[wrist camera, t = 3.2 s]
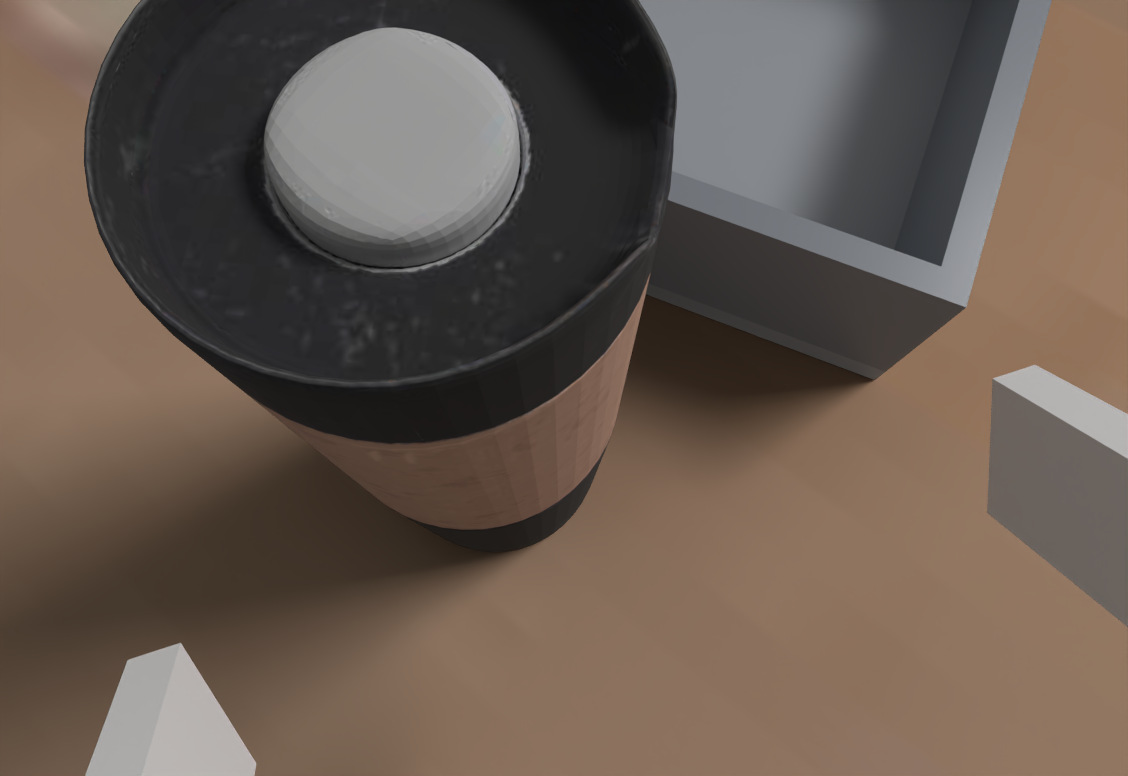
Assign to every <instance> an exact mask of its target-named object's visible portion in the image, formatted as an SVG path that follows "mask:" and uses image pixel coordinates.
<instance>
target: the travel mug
mask: <svg viewBox="0 0 1128 776" xmlns="http://www.w3.org/2000/svg"><path fill="white" fill-rule="evenodd" d="M676 110H677V86H676V78H675V75H674V71H673V67H672V63H671V60H670V57H669V55H668V52H667V50H666V47H665V45H664V43H663V41H662V39H661V37H660V35H659V33H658V32H657V30H656V28H655V26H654V24H653V22H652V21H651V19H650V18H649V16H648V14H647V13H646V11H645V10H644V8H643V6H642V5H641V3H640V2H639V0H141V1H140V2H139V3H138V4H137V5H136V7H135V8H134V10H133V11H132V13H131V14H130V15H129V17H128V18H127V20H126V21H125V23H124V24H123V26H122V27H121V29H120V30H119V32H118V33H117V35H116V37H115V39H114V41H113V43H112V45H111V47H110V49H109V51H108V53H107V55H106V57H105V59H104V61H103V63H102V65H101V68H100V71H99V74H98V77H97V80H96V83H95V86H94V89H93V92H92V95H91V98H90V104H89V109H88V115H87V120H86V126H85V143H84V167H85V174H86V181H87V189H88V196H89V201H90V204H91V208H92V211H93V214H94V218H95V221H96V224H97V228H98V231H99V234H100V236H101V238H102V240H103V242H104V244H105V246H106V248H107V251H108V253H109V255H110V257H111V259H112V261H113V263H114V265H115V266H116V268H117V269H118V271H119V272H120V274H121V275H122V276H123V278H124V279H125V281H126V282H127V283H128V285H129V286H130V288H131V289H132V291H133V292H134V293H135V295H136V296H137V298H138V299H139V300H140V302H141V303H142V304H143V305H144V306H145V307H146V308H147V309H148V310H149V311H150V312H151V313H152V314H153V315H154V316H155V317H156V318H157V319H158V320H159V321H160V322H161V323H162V324H163V325H164V326H165V327H166V328H167V329H168V330H169V331H170V332H171V333H172V334H173V335H174V336H175V337H176V338H177V339H179V340H180V341H181V342H182V343H184V344H185V345H186V346H187V347H189V348H190V349H191V350H192V351H194V352H195V353H196V354H197V355H199V356H200V357H201V358H202V359H204V360H205V361H206V362H207V363H209V364H210V365H211V366H212V367H214V368H215V369H216V370H217V371H219V372H220V373H221V374H222V375H224V376H225V377H226V378H227V379H229V380H230V381H231V382H232V383H234V384H235V385H236V386H238V387H239V388H240V389H241V390H242V391H244V392H245V393H246V394H247V395H249V396H250V397H251V398H252V399H254V400H255V401H256V402H257V403H259V404H260V405H261V406H262V407H264V408H265V409H266V410H267V411H269V412H270V413H271V414H272V415H274V416H275V417H276V418H277V419H279V420H280V421H281V422H282V423H284V424H285V425H286V426H287V427H289V428H290V429H291V430H292V431H294V432H295V433H296V434H297V435H299V436H300V437H301V438H302V439H304V440H305V441H306V442H307V443H309V444H310V445H311V446H312V447H314V448H315V449H316V450H317V451H319V452H320V453H321V454H322V455H324V456H325V457H326V458H327V459H328V460H330V461H331V462H332V463H333V464H335V465H336V466H337V467H338V468H340V469H341V470H342V471H343V472H345V473H346V474H347V475H348V476H350V477H351V478H352V479H353V480H355V481H356V482H357V483H358V484H360V485H361V486H362V487H363V488H365V489H366V490H367V491H368V492H370V493H371V494H372V495H374V496H375V497H376V498H377V499H379V500H380V501H381V502H383V503H384V504H385V505H387V506H388V507H390V508H391V509H393V510H395V511H397V512H398V513H400V514H402V515H404V516H406V517H407V518H409V519H411V520H413V521H414V522H416V523H418V524H420V525H421V526H423V527H425V528H427V529H429V530H430V531H432V532H434V533H436V534H437V535H439V536H441V537H443V538H444V539H446V540H448V541H451V542H453V543H455V544H458V545H460V546H463V547H467V548H471V549H475V550H481V551H490V552H497V551H510V550H516V549H520V548H523V547H527V546H530V545H532V544H535V543H537V542H539V541H541V540H543V539H545V538H546V537H548V536H550V535H551V534H553V533H554V532H555V531H557V530H558V529H559V528H560V527H562V526H563V525H564V524H565V523H566V522H567V521H568V520H569V519H570V518H571V517H572V515H573V514H574V513H575V512H576V510H577V509H578V508H579V506H580V505H581V503H582V501H583V500H584V498H585V496H586V494H587V492H588V490H589V488H590V486H591V484H592V481H593V479H594V476H595V474H596V471H597V469H598V467H599V464H600V462H601V459H602V457H603V454H604V452H605V449H606V447H607V445H608V442H609V439H610V437H611V434H612V431H613V429H614V426H615V422H616V418H617V414H618V410H619V405H620V401H621V397H622V393H623V388H624V384H625V380H626V375H627V371H628V367H629V363H630V358H631V354H632V350H633V346H634V341H635V337H636V333H637V329H638V324H639V320H640V316H641V312H642V307H643V303H644V299H645V295H646V290H647V286H648V282H649V277H650V273H651V269H652V265H653V261H654V256H655V252H656V248H657V244H658V239H659V235H660V231H661V226H662V222H663V218H664V214H665V209H666V205H667V200H668V196H669V192H670V187H671V175H672V163H673V152H674V131H675V121H676Z"/></svg>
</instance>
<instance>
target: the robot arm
mask: <svg viewBox="0 0 1128 776" xmlns="http://www.w3.org/2000/svg"><path fill="white" fill-rule="evenodd" d="M987 513H988V514H989V515H991V516H992V517H993V518H994V519H996V520H997V521H998V522H999V523H1000V524H1002V525H1003V526H1004V527H1005V528H1007V529H1008V530H1009V531H1010V532H1012V533H1013V534H1014V535H1015V536H1016V537H1018V538H1019V539H1020V540H1021V541H1023V542H1024V543H1025V544H1026V545H1028V546H1029V547H1030V548H1031V549H1032V550H1034V551H1035V552H1036V553H1037V554H1039V555H1040V556H1041V557H1042V558H1043V559H1045V560H1046V561H1047V562H1048V563H1050V564H1051V565H1052V566H1053V567H1055V568H1056V569H1057V570H1058V571H1059V572H1061V573H1062V574H1063V575H1064V576H1066V577H1067V578H1068V579H1069V580H1071V581H1072V582H1073V583H1074V584H1075V585H1077V586H1078V587H1079V588H1080V589H1082V590H1083V591H1084V592H1085V593H1086V594H1088V595H1089V596H1090V597H1091V598H1093V599H1094V600H1095V601H1096V602H1098V603H1099V604H1100V605H1101V606H1102V607H1104V608H1105V609H1106V610H1107V611H1109V612H1110V613H1111V614H1112V615H1114V616H1115V617H1116V618H1117V619H1118V620H1120V621H1121V622H1122V623H1123V624H1125V625H1126V626H1127V627H1128V414H1126V413H1124V412H1122V411H1121V410H1119V409H1117V408H1115V407H1113V406H1111V405H1109V404H1107V403H1106V402H1104V401H1102V400H1100V399H1098V398H1096V397H1094V396H1092V395H1091V394H1089V393H1087V392H1085V391H1083V390H1081V389H1079V388H1078V387H1076V386H1074V385H1072V384H1070V383H1068V382H1066V381H1064V380H1063V379H1061V378H1059V377H1057V376H1055V375H1053V374H1051V373H1049V372H1048V371H1046V370H1044V369H1042V368H1040V367H1038V366H1036V365H1033V366H1030V367H1027V368H1024V369H1021V370H1018V371H1015V372H1012V373H1009V374H1005V375H1002V376H999V377H996V378H993V383H992V408H991V433H990V458H989V483H988V508H987ZM255 769H256V762H255V761H254V759H253V757H252V756H251V754H250V753H249V751H248V749H247V748H246V746H245V745H244V743H243V741H242V740H241V738H240V737H239V735H238V733H237V732H236V730H235V729H234V727H233V725H232V724H231V722H230V721H229V719H228V717H227V716H226V714H225V713H224V711H223V709H222V708H221V706H220V705H219V703H218V701H217V700H216V698H215V697H214V695H213V694H212V692H211V690H210V689H209V687H208V686H207V684H206V682H205V681H204V679H203V678H202V676H201V674H200V673H199V671H198V670H197V668H196V666H195V665H194V663H193V662H192V660H191V658H190V657H189V655H188V654H187V652H186V650H185V649H184V647H183V646H182V644H181V643H178V644H175V645H172V646H169V647H166V648H163V649H160V650H157V651H154V652H150V653H147V654H144V655H141V656H138V657H135V658H132V659H129V660H128V661H127V663H126V666H125V669H124V671H123V674H122V677H121V680H120V682H119V685H118V688H117V691H116V693H115V696H114V699H113V701H112V704H111V707H110V710H109V712H108V715H107V718H106V721H105V723H104V726H103V729H102V731H101V734H100V737H99V740H98V742H97V745H96V748H95V750H94V753H93V756H92V759H91V761H90V764H89V767H88V770H87V772H86V775H85V776H255Z"/></svg>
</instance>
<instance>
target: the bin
mask: <svg viewBox="0 0 1128 776" xmlns="http://www.w3.org/2000/svg"><path fill="white" fill-rule="evenodd" d="M1051 1H1052V0H639V2H640V3H641V5H642V6H643V8H644V10H645V11H646V13H647V14H648V16H649V18H650V19H651V21H652V22H653V24H654V26H655V28H656V30H657V32H658V33H659V35H660V37H661V39H662V41H663V43H664V45H665V47H666V50H667V52H668V55H669V57H670V60H671V63H672V67H673V71H674V75H675V78H676V86H677V110H676V121H675V131H674V152H673V163H672V175H671V187H670V192H669V196H668V200H667V205H666V209H665V214H664V218H663V222H662V226H661V231H660V235H659V239H658V244H657V248H656V252H655V256H654V261H653V265H652V269H651V273H650V277H649V282H648V286H647V290H646V295H649V296H652V297H654V298H657V299H660V300H662V301H665V302H668V303H670V304H673V305H676V306H678V307H681V308H684V309H686V310H689V311H692V312H694V313H697V314H700V315H702V316H705V317H708V318H710V319H713V320H716V321H718V322H721V323H724V324H726V325H729V326H732V327H734V328H737V329H740V330H742V331H745V332H748V333H750V334H753V335H756V336H758V337H761V338H764V339H766V340H769V341H772V342H774V343H777V344H780V345H782V346H785V347H788V348H790V349H793V350H796V351H798V352H801V353H804V354H806V355H809V356H812V357H814V358H817V359H820V360H822V361H825V362H828V363H830V364H833V365H836V366H838V367H841V368H844V369H846V370H849V371H852V372H854V373H857V374H860V375H862V376H865V377H868V378H870V379H873V380H876V379H877V378H878V377H879V376H881V375H882V374H883V373H884V372H886V371H887V370H888V369H889V368H891V367H892V366H893V365H894V364H896V363H897V362H898V361H899V360H901V359H902V358H903V357H905V356H906V355H907V354H908V353H910V352H911V351H912V350H913V349H915V348H916V347H917V346H918V345H920V344H921V343H922V342H923V341H925V340H926V339H927V338H928V337H930V336H931V335H932V334H933V333H935V332H936V331H937V330H938V329H940V328H941V327H942V326H943V325H945V324H946V323H947V322H948V321H950V320H951V319H952V318H953V317H955V316H956V315H957V314H958V313H960V312H961V311H962V310H963V309H965V308H966V306H967V303H968V299H969V295H970V292H971V288H972V285H973V281H974V278H975V274H976V270H977V267H978V263H979V260H980V256H981V252H982V249H983V245H984V242H985V238H986V234H987V231H988V227H989V224H990V220H991V216H992V213H993V209H994V206H995V202H996V198H997V195H998V191H999V188H1000V184H1001V181H1002V177H1003V173H1004V170H1005V166H1006V163H1007V159H1008V155H1009V152H1010V148H1011V145H1012V141H1013V137H1014V134H1015V130H1016V127H1017V123H1018V119H1019V116H1020V112H1021V109H1022V105H1023V102H1024V98H1025V94H1026V91H1027V87H1028V84H1029V80H1030V76H1031V73H1032V69H1033V66H1034V62H1035V58H1036V55H1037V51H1038V48H1039V44H1040V40H1041V37H1042V33H1043V30H1044V26H1045V22H1046V19H1047V15H1048V12H1049V8H1050V5H1051Z"/></svg>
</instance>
